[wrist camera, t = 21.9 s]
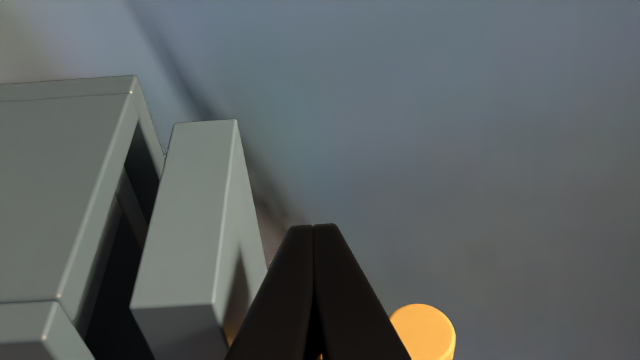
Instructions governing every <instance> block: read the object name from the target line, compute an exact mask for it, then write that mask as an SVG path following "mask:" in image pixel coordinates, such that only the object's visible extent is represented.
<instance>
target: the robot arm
mask: <svg viewBox="0 0 640 360" xmlns="http://www.w3.org/2000/svg"><path fill="white" fill-rule="evenodd" d="M321 355H322V360H412V358H411V357H410V355H409V353H408V351H407V349H406V348H405V346H404V344H403V342H402V341H401V339H400V337H399V335H398V333H397V332H396V330H395V328H394V326H393V325H392V323H391V321H390V319H389V317H388V316H387V314H386V312H385V310H384V308H383V307H382V305H381V303H380V301H379V300H378V298H377V296H376V294H375V292H374V291H373V289H372V287H371V285H370V284H369V282H368V280H367V278H366V276H365V275H364V273H363V271H362V269H361V267H360V266H359V264H358V262H357V260H356V259H355V257H354V255H353V253H352V251H351V250H350V248H349V246H348V244H347V243H346V241H345V239H344V237H343V235H342V234H341V232H340V230H339V228H338V227H337V226H336V225H335V224H333V223H330V224H316V225H314V226H312V225H299V226H292V227H290V228H289V230H288V231H287V233H286V235H285V237H284V239H283V241H282V243H281V245H280V247H279V249H278V251H277V253H276V255H275V257H274V259H273V261H272V264H271V266H270V268H269V270H268V272H267V274H266V276H265V278H264V280H263V282H262V284H261V286H260V288H259V290H258V292H257V294H256V296H255V298H254V300H253V302H252V304H251V306H250V308H249V310H248V312H247V314H246V316H245V318H244V320H243V322H242V324H241V326H240V328H239V330H238V332H237V334H236V336H235V338H234V340H233V342H232V344H231V346H230V348H229V350H228V352H227V354H226V357H225V359H224V360H321Z"/></svg>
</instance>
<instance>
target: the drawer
mask: <svg viewBox="0 0 640 360" xmlns="http://www.w3.org/2000/svg"><path fill="white" fill-rule="evenodd" d="M267 272H268V271H267V266H266V261H265V256H264V251H263V246H262V241H261V237H260V232H259V227H258V222H257V217H256V212H255V207H254V202H253V197H252V192H251V187H250V183H249V178H248V173H247V168H246V163H245V158H244V153H243V148H242V143H241V138H240V133H239V129H238V124H237V121H236V119H228V120H213V121H199V122H184V123H175V124H174V125H173V130H172V134H171V138H170V142H169V146H168V150H167V154H166V158H165V162H164V166H163V170H162V174H161V178H160V183H159V187H158V191H157V195H156V199H155V203H154V207H153V211H152V215H151V219H150V223H149V227H148V225H147V223H146V220H145V218H144V215H143V213H142V210H141V208H140V205H139V203H138V200H137V198H136V195H135V193H134V190H133V188H132V185H131V183H130V180H129V178H128V175H127V173H126V170H125V168H124V165H123V168H122V172H121V175H120V178H119V181H118V184H117V187H116V190H115V194H114V197H113V200H112V203H111V206H110V209H109V212H108V216H107V219H106V222H105V225H104V228H103V231H102V234H101V237H100V241H99V244H98V247H97V250H96V253H95V256H94V259H93V263H92V266H91V269H90V272H89V275H88V278H87V281H86V284H85V288H84V291H83V294H82V297H81V300H80V303H79V306H78V310H77V313H76V316H75V319H74V320H73V321H71V323H72V324H73V326H74V327H75V329H76V330H77V332H78V333H79V335H80V336H81V338H82V340H83V341H84V343H85V344H86V346H87V347H88V349H89V350H90V352H91V353H92V355H93V357H94V358H95V360H224V359H225V357H226V354H227V352H228V350H229V348H230V346H231V344H232V342H233V340H234V338H235V336H236V334H237V332H238V330H239V328H240V326H241V324H242V322H243V320H244V318H245V316H246V314H247V312H248V310H249V308H250V306H251V304H252V302H253V300H254V298H255V296H256V294H257V292H258V290H259V288H260V286H261V284H262V282H263V280H264V278H265V276H266V274H267ZM389 319H390V321H391V323H392V325H393V326H394V328H395V330H396V332H397V333H398V335H399V337H400V339H401V341H402V342H403V344H404V346H405V348H406V349H407V351H408V353H409V355H410V357H411V358H412V360H452V359H453V353H454V348H455V342H456V336H455V331H454V328H453V326H452V324H451V322H450V321H449V319H448V318H447V317H446V316H445V315H444V314H443V313H442V312H441V311H439V310H437V309H436V308H434V307H431V306H428V305H424V304H409V305H405V306H403V307H401V308H399V309H397V310H396V311H394V312H393V313H392V314H391V315H390V316H389ZM321 360H322V355H321Z"/></svg>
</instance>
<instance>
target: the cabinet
mask: <svg viewBox="0 0 640 360" xmlns="http://www.w3.org/2000/svg"><path fill="white" fill-rule="evenodd" d="M164 162H165V158H164V155H163V152H162V149H161V146H160V143H159V140H158V137H157V134H156V131H155V128H154V125H153V122H152V119H151V116H150V113H149V110H148V107H147V104H146V101H145V98H144V95H143V92H142V89H141V86H140V83H139V80H138V77H137V76H135V75H130V76H116V77H101V78H87V79H73V80H58V81H44V82H29V83H15V84H1V85H0V360H95V358H94V357H93V355H92V353H91V352H90V350H89V349H88V347H87V346H86V344H85V343H84V341H83V340H82V338H81V336H80V335H79V333H78V332H77V330H76V329H75V327H74V326H73V324H72V323H71V321H73V320H74V319H75V316H76V313H77V310H78V306H79V303H80V300H81V297H82V294H83V291H84V288H85V284H86V281H87V278H88V275H89V272H90V269H91V266H92V263H93V259H94V256H95V253H96V250H97V247H98V244H99V241H100V237H101V234H102V231H103V228H104V225H105V222H106V219H107V216H108V212H109V209H110V206H111V203H112V200H113V197H114V194H115V190H116V187H117V184H118V181H119V178H120V175H121V172H122V168H123V165H124V168H125V170H126V173H127V175H128V178H129V180H130V183H131V185H132V188H133V190H134V193H135V195H136V198H137V200H138V203H139V205H140V208H141V210H142V213H143V215H144V218H145V220H146V223H147V225H148V227H149V223H150V219H151V215H152V211H153V207H154V203H155V199H156V195H157V191H158V187H159V183H160V178H161V174H162V170H163V166H164Z"/></svg>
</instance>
